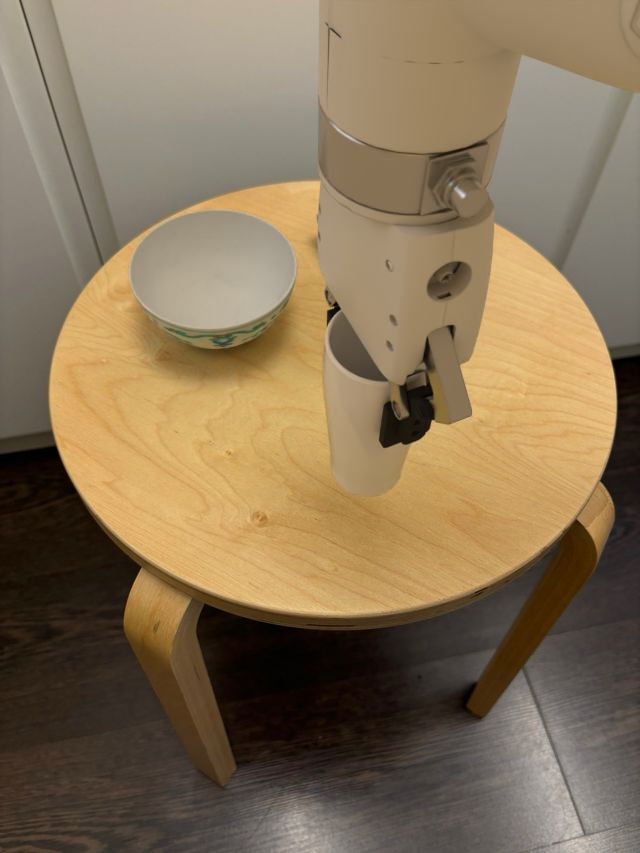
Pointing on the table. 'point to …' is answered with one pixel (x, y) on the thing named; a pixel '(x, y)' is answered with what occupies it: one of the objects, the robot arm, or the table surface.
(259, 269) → the chinaware
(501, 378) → the table surface
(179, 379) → the table surface
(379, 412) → the white tall cup
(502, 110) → the robot arm
